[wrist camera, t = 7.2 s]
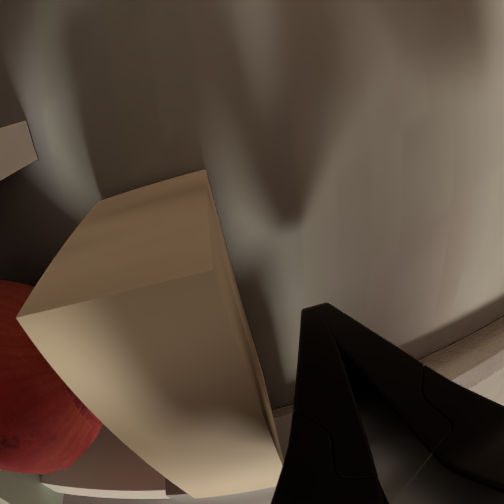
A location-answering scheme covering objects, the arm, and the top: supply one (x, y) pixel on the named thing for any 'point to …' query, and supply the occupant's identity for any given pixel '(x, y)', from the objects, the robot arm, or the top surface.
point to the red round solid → (35, 400)
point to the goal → (106, 444)
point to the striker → (163, 342)
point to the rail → (461, 359)
